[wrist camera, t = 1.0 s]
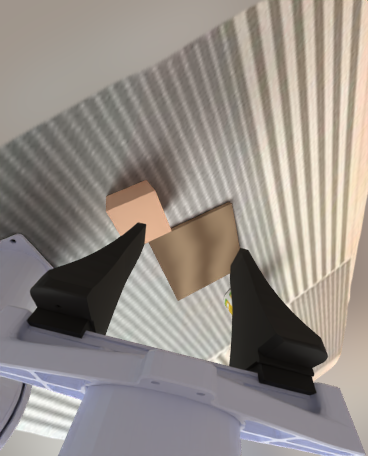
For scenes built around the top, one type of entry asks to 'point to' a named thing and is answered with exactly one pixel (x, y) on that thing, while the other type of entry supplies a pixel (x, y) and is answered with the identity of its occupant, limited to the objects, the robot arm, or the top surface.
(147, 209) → the terracotta block
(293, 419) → the robot arm
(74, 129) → the top surface
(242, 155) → the top surface
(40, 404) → the top surface
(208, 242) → the walnut board
